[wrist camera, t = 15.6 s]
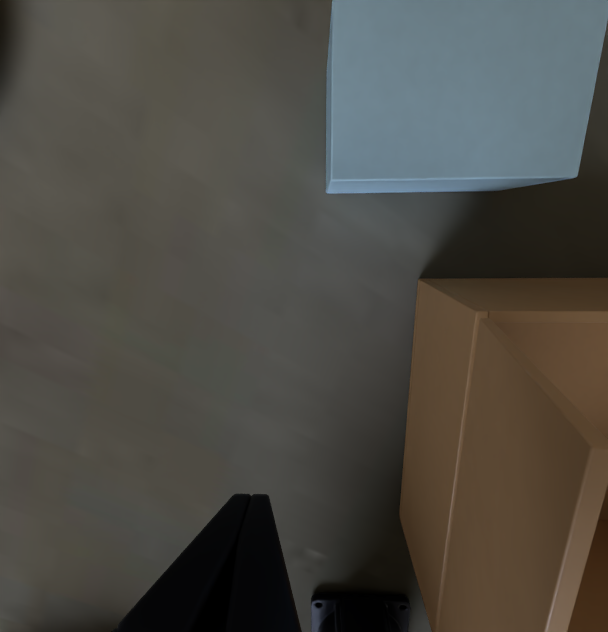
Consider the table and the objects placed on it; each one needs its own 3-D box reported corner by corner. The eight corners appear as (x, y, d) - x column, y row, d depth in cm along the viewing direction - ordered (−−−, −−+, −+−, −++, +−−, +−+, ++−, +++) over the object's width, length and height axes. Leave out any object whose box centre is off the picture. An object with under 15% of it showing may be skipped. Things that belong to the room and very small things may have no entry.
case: (497, 190, 16) (578, 177, 11) (325, 193, 16) (330, 181, 11) (514, 66, 14) (615, -12, 10) (326, 71, 15) (332, -2, 10)
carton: (611, 519, 20) (739, 648, 14) (398, 515, 21) (433, 639, 15) (682, 276, 16) (901, 310, 10) (417, 278, 17) (476, 311, 11)
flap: (474, 963, 8) (462, 957, 8) (442, 656, 14) (434, 654, 14) (618, 449, 4) (591, 446, 4) (490, 318, 10) (479, 317, 10)
